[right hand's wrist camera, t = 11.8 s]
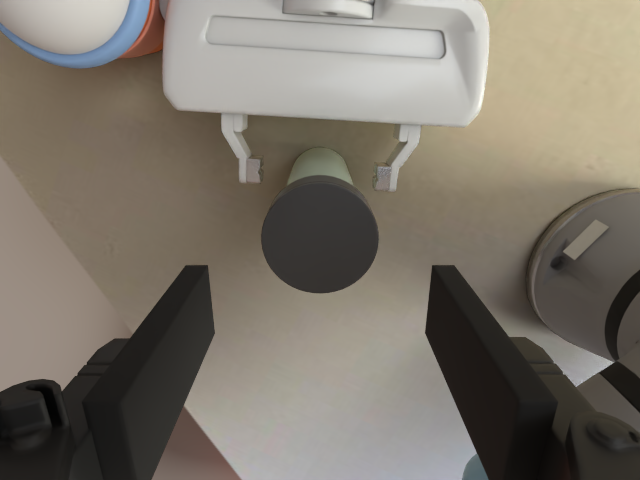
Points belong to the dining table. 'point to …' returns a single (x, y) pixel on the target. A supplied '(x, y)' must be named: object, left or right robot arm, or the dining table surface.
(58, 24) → the cup with straw
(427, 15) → the left robot arm
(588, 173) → the dining table surface
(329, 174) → the pale green cylinder
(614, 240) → the right robot arm
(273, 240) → the lid
